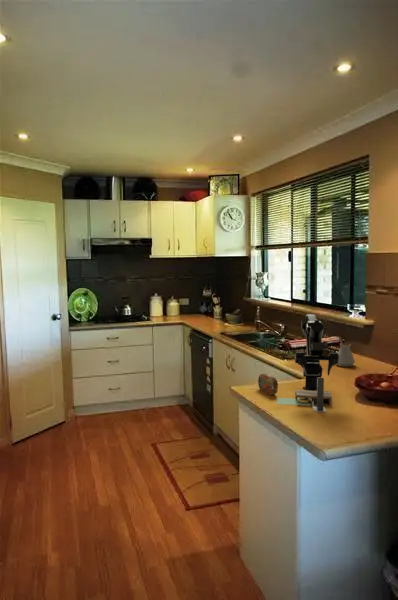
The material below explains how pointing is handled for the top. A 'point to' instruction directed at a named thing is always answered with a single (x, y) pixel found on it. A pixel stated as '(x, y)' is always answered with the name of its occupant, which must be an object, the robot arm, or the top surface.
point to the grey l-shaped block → (319, 397)
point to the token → (304, 400)
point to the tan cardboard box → (313, 395)
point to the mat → (290, 401)
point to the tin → (268, 384)
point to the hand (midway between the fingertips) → (317, 374)
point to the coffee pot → (345, 355)
